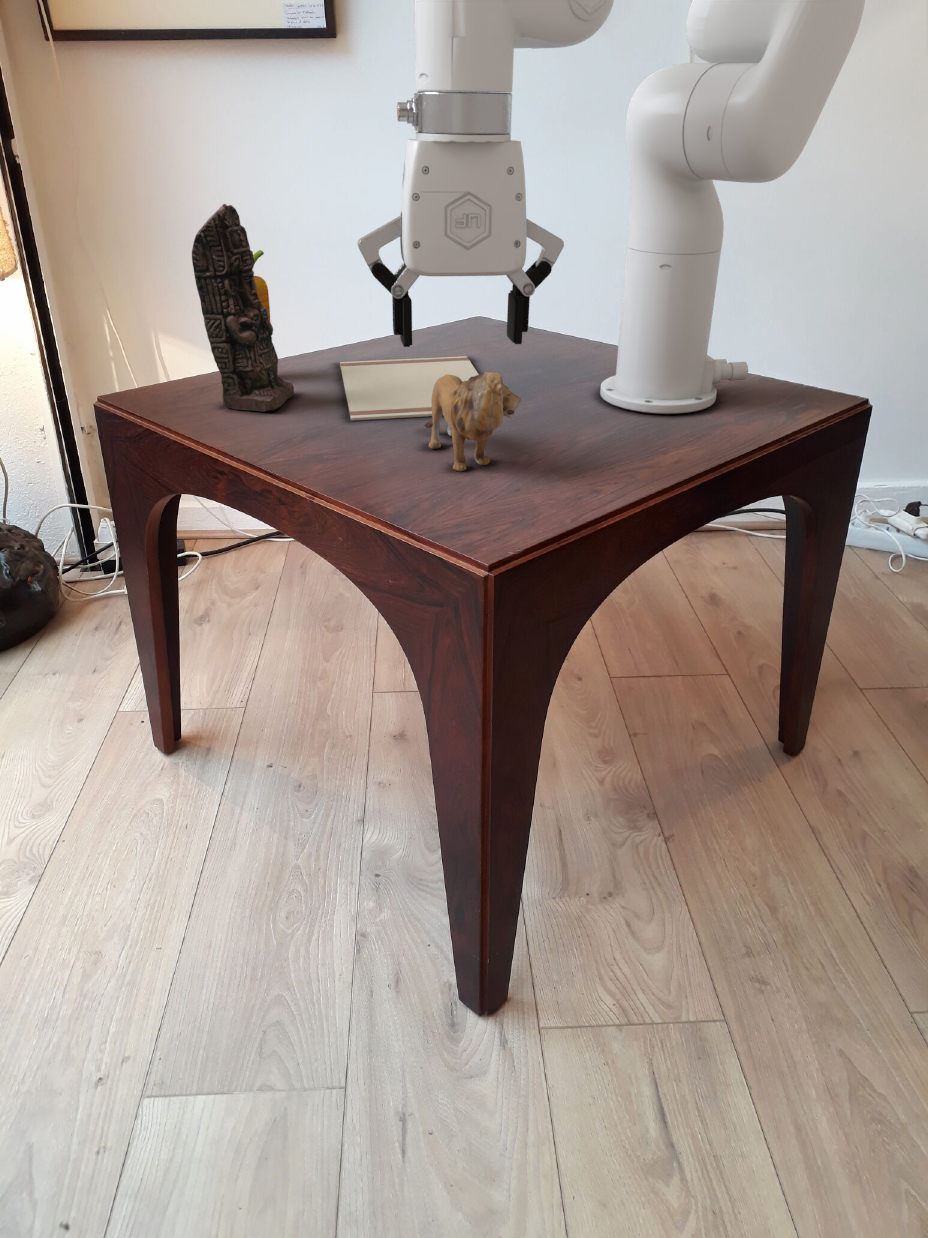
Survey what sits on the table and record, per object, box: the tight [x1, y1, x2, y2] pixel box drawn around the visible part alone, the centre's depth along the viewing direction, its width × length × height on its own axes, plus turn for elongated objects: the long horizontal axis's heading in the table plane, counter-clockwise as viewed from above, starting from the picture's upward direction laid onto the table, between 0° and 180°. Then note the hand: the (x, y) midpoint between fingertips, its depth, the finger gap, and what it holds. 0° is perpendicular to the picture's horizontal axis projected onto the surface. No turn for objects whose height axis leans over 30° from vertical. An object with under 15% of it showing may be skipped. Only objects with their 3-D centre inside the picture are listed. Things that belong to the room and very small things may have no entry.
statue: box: [191, 203, 295, 412], centre depth 94 cm, size 7×7×20 cm
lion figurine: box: [423, 371, 522, 472], centre depth 83 cm, size 15×5×9 cm, turn 29°
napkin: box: [339, 355, 480, 422], centre depth 105 cm, size 16×22×1 cm
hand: (460, 341), depth 80 cm, fingers open, 9 cm apart
